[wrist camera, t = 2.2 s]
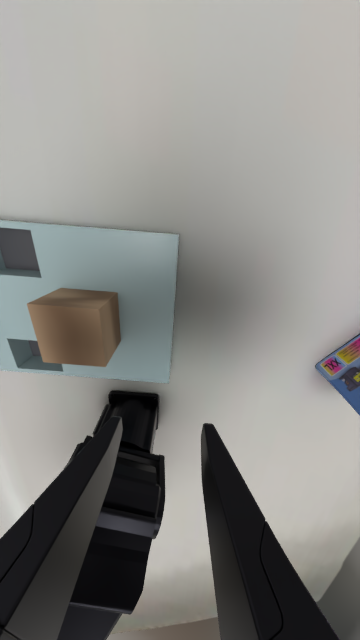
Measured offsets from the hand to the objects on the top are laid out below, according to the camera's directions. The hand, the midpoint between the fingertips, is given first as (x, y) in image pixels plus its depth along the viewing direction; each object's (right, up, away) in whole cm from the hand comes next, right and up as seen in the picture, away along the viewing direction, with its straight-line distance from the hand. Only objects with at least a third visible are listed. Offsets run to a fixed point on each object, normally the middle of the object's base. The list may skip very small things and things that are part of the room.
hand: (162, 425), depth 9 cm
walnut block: (-7, +5, +9) cm, 13 cm away
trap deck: (-11, +6, +12) cm, 17 cm away
